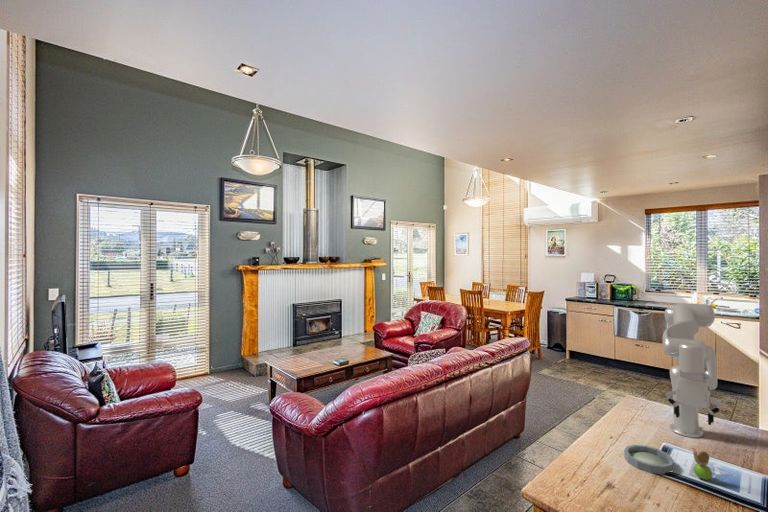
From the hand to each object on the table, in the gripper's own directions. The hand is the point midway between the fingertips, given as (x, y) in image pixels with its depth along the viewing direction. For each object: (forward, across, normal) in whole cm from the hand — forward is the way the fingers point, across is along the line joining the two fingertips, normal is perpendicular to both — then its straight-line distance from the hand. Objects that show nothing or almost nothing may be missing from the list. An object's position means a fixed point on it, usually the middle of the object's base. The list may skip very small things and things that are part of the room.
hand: (693, 420), depth 144 cm
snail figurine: (+23, -2, -2) cm, 23 cm away
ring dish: (+22, +15, -1) cm, 27 cm away
